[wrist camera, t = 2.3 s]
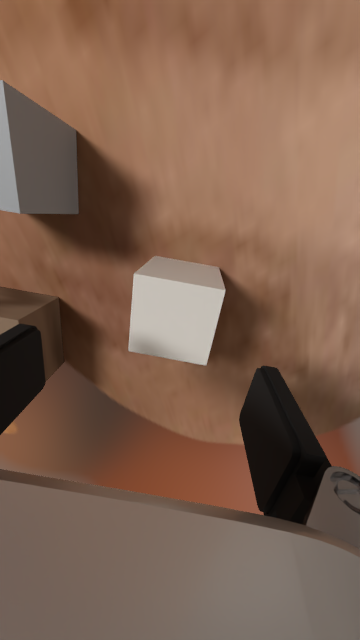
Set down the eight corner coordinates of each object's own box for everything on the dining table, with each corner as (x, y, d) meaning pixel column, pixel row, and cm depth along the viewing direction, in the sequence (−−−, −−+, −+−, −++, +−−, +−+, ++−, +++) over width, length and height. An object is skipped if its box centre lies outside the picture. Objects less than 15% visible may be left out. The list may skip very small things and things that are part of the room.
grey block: (76, 130, 15) (2, 80, 9) (79, 214, 17) (20, 213, 11) (1, 117, 15) (-115, 60, 9) (13, 202, 17) (-76, 196, 12)
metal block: (59, 296, 20) (17, 320, 15) (65, 361, 23) (31, 396, 18) (-18, 282, 20) (-81, 302, 16) (-2, 348, 23) (-52, 381, 19)
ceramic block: (218, 267, 18) (225, 290, 12) (205, 324, 20) (206, 365, 14) (155, 255, 18) (134, 273, 12) (148, 313, 20) (128, 351, 14)
